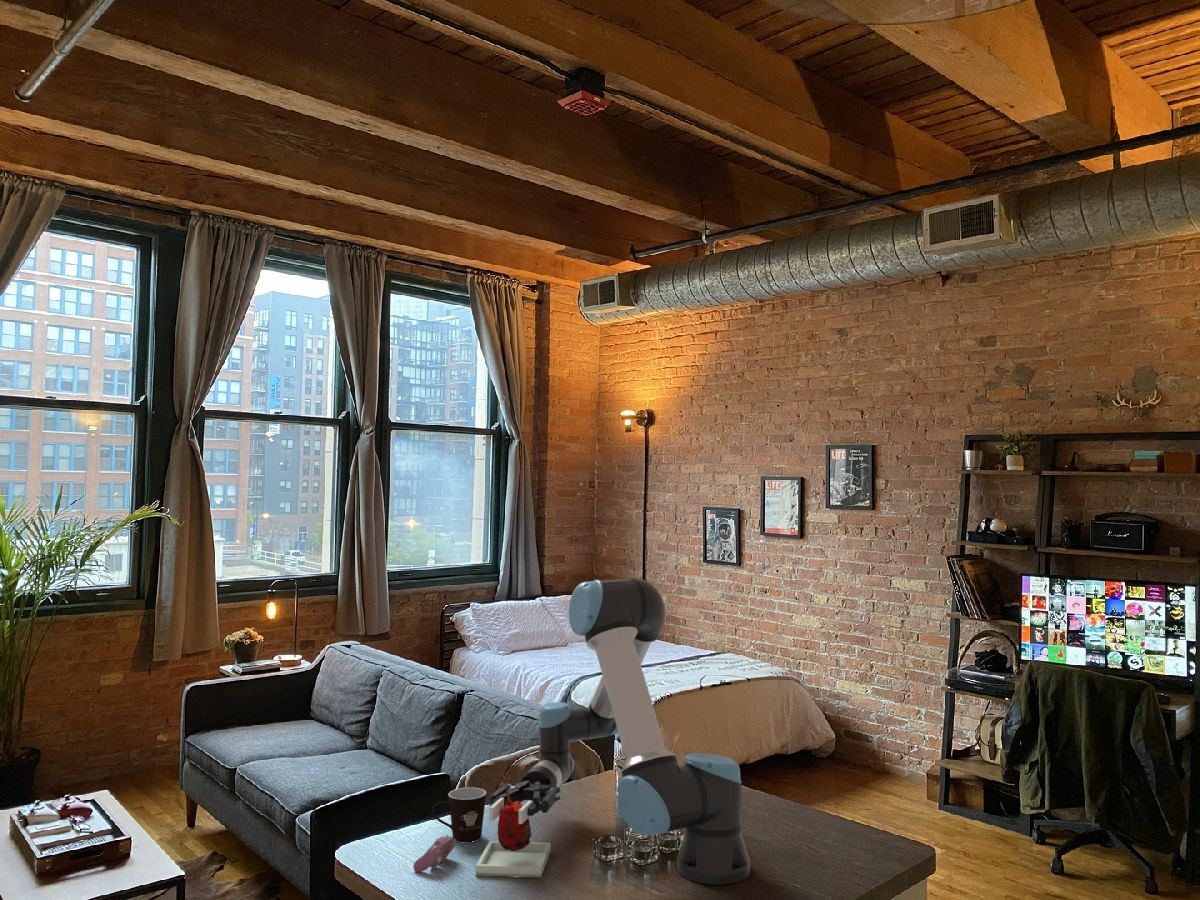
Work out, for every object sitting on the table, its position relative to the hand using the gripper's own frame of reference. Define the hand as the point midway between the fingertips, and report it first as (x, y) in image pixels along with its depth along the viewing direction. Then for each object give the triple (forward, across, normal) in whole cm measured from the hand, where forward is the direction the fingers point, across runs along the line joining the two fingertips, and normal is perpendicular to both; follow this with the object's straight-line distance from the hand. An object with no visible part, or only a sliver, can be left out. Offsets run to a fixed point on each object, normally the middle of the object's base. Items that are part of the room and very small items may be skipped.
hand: (505, 815), depth 186 cm
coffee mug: (-16, +17, -12) cm, 27 cm away
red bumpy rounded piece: (-5, 0, -8) cm, 10 cm away
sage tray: (-5, 0, -12) cm, 13 cm away
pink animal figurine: (0, +16, -12) cm, 20 cm away
